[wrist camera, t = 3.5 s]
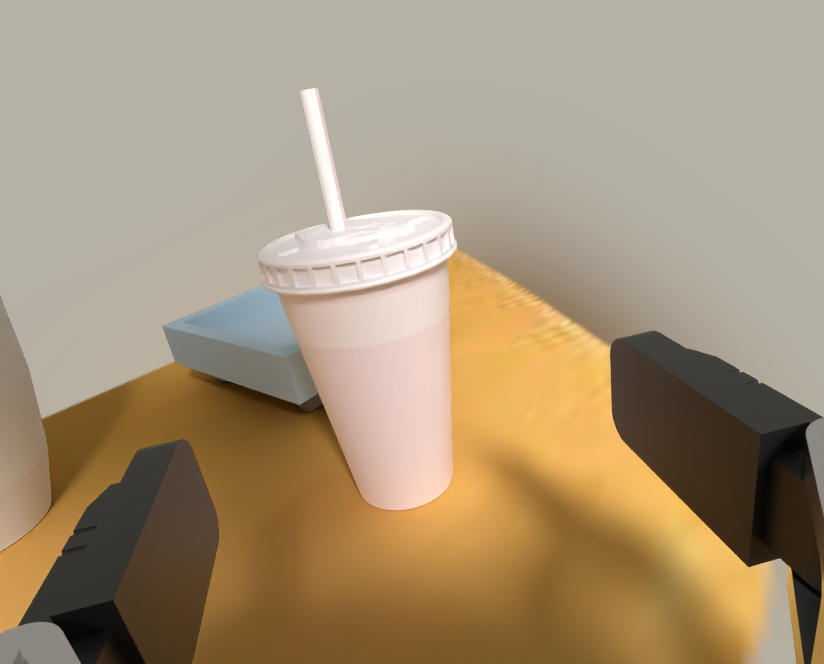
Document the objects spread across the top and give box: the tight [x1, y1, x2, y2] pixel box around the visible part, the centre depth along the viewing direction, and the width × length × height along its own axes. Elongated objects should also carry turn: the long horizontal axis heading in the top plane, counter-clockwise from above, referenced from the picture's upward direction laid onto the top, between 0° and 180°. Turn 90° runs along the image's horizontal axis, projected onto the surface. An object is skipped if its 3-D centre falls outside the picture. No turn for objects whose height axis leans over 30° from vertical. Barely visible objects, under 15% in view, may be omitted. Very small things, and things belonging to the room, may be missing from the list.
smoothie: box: [257, 88, 457, 510], centre depth 18 cm, size 6×6×14 cm
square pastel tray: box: [162, 285, 450, 412], centre depth 32 cm, size 12×12×4 cm
